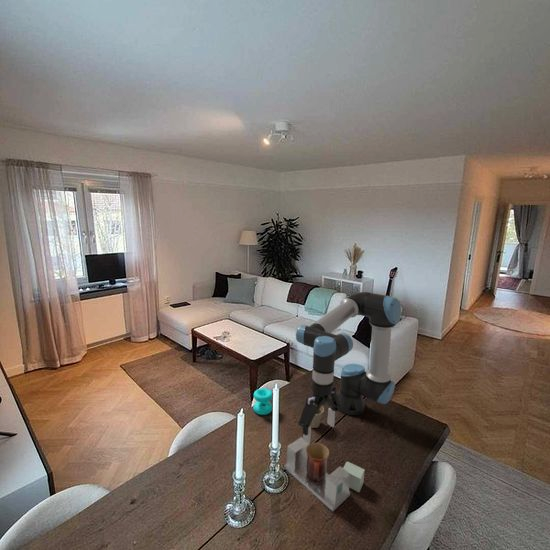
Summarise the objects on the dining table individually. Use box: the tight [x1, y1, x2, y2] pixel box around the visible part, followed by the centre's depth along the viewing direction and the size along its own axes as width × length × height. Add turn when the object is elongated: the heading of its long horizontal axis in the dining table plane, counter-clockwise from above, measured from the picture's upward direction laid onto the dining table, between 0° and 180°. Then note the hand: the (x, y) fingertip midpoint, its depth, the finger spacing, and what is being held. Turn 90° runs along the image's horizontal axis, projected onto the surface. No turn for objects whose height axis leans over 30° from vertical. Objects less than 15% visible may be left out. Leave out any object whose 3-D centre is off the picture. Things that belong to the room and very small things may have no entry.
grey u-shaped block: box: [284, 436, 351, 512], centre depth 115 cm, size 10×25×10 cm, turn 41°
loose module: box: [342, 461, 366, 493], centre depth 115 cm, size 5×7×6 cm
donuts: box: [252, 387, 273, 416], centre depth 157 cm, size 10×10×10 cm
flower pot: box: [310, 403, 325, 429], centre depth 147 cm, size 9×9×9 cm
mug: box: [306, 442, 330, 481], centre depth 115 cm, size 12×9×10 cm
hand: (319, 433), depth 112 cm, fingers open, 13 cm apart
